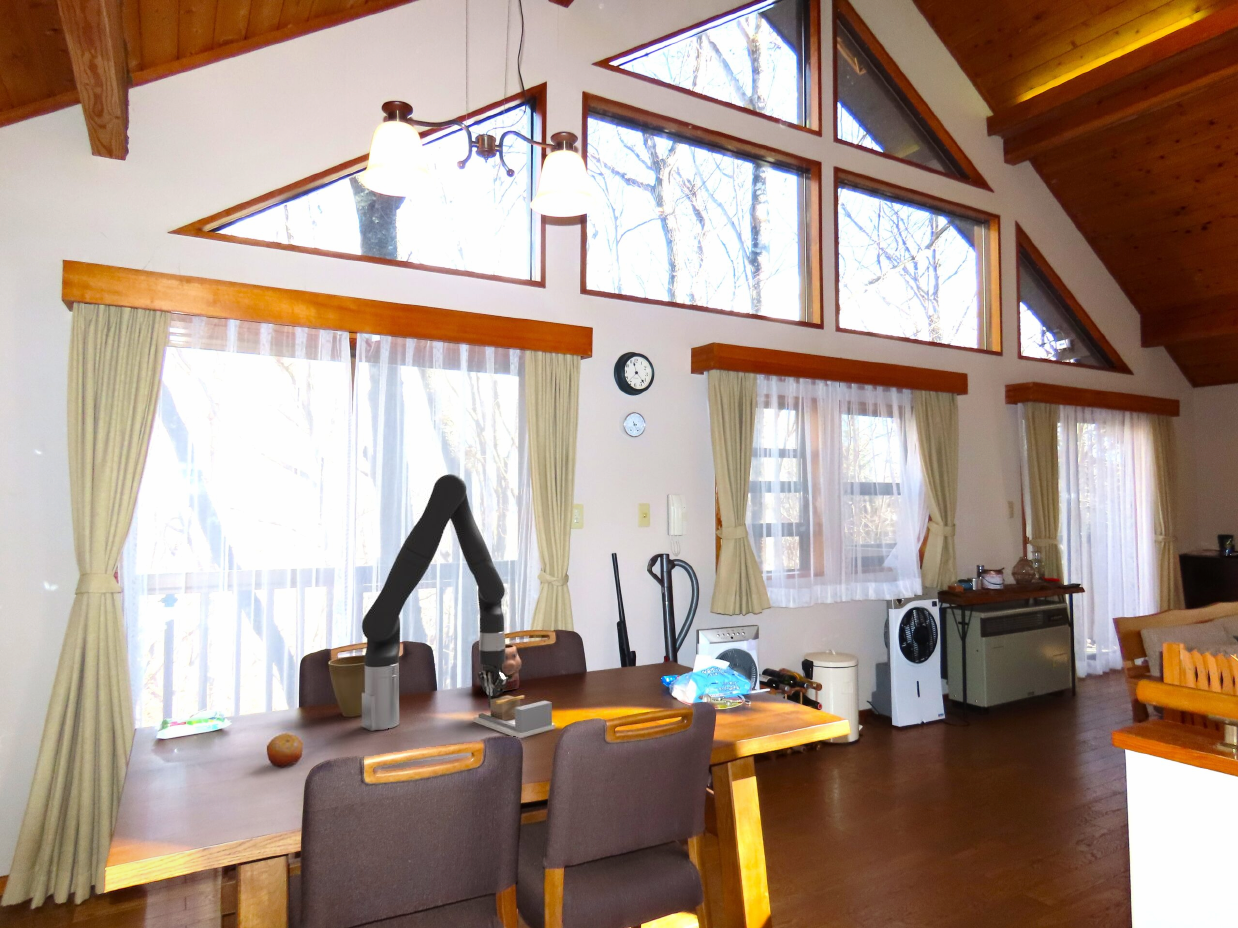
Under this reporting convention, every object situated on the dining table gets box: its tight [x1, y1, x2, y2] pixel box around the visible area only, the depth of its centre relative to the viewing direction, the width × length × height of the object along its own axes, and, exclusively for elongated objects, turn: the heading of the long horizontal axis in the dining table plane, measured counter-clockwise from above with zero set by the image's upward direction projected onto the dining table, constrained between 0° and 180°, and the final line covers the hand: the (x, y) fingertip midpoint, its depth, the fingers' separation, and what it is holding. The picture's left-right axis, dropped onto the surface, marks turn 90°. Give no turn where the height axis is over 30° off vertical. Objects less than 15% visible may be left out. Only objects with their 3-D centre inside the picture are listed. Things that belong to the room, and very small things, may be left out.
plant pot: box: [328, 654, 365, 718], centre depth 228 cm, size 15×15×16 cm
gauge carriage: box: [489, 695, 525, 721], centre depth 215 cm, size 9×6×6 cm, turn 132°
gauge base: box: [473, 700, 556, 739], centre depth 212 cm, size 12×22×7 cm, turn 42°
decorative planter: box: [502, 644, 522, 692], centre depth 256 cm, size 20×12×14 cm, turn 36°
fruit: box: [266, 733, 304, 769], centre depth 184 cm, size 8×8×8 cm
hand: (493, 707), depth 220 cm, fingers closed
